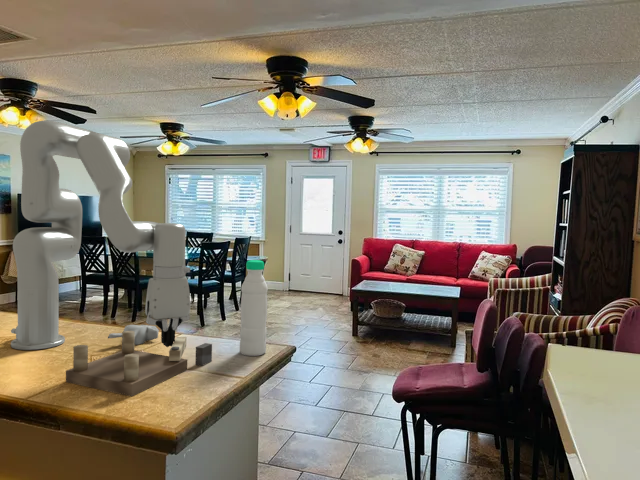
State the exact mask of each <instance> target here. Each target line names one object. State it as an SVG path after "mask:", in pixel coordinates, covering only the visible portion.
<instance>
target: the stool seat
mask: <svg viewBox="0 0 640 480" xmlns="http://www.w3.org/2000/svg"><path fill="white" fill-rule="evenodd" d="M123 331H124V330H123ZM123 331H122V332H121V333H122V337H121V351H118V352H115V353H113V354H112V353H111V354H110V355H108V356H104V357H102V358H101V357H100V358H99V359H95V360H92V361H89V346H88V345H87V344H79V345H74V346H73V355H72V356H73V357H72V358H73V365H72V366H73V367H72V368H69V369H67V370H65V383H70V384H73V385H79V386H82V387H85V388H86V387H87V388H91V389H96V390H101V391H105V392H110V393H114V394H119V395H123V396H129V397H134V396H135V395H138V394H140V393H142V392H144V391H146V390H147V389H150V388H152V387H155V386H156V385H159V384H160V383H163V382H164V381H168V380H169V379H171V378H173V377H176V376H178V375H180V374H182V373H184V372H186V371H188V359H186V358H182V357H181V359H180V361H169V355H164V354H159V353H153V352H152V353H151V352H146V351H142V350H135V344H134V342H135V332H134V331H124V332H123ZM212 354H213V343H207V342H204V343H203V344H199V345H197V346H195V365H196V366H205V365H207V364H208V363H210V362H212V361H213V355H212Z"/></svg>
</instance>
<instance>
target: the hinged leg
mask: <svg viewBox="0 0 640 480" xmlns="http://www.w3.org/2000/svg"><path fill="white" fill-rule="evenodd" d="M186 347H187V336H176V337H175V341H174V342H173V345H172V346H170V348H169V351H168V356H169V361H180V359H181V358H182V356H183V354H184V352H185V350H186Z"/></svg>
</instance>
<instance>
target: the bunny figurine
mask: <svg viewBox="0 0 640 480" xmlns="http://www.w3.org/2000/svg"><path fill="white" fill-rule="evenodd" d="M157 327H158V326H157V325H149V324H140V325H139V324H127V325H125V326H124V329H123V331H122V332H124V331H134V332H135V342H134V346H138V345H142V344H145V343H146V342H148V341H152V340H157V339H158V338H159V333H160V331H159V329H160V328H157ZM122 332H118V333H116V332H113V333H109V334H108V336H107V339H116V338H122Z"/></svg>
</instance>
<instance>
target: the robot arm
mask: <svg viewBox="0 0 640 480" xmlns="http://www.w3.org/2000/svg"><path fill="white" fill-rule="evenodd" d="M19 145H20V147H19V148H20V158H21V165H22V173H21V197H20V198H21V202H20V204H21V205H20V206H21V207H20V208H21V213H22V216H23V217H24V219H25V220H27V221H30V222H33V223H51V227H50V226H49V227H48V226H47V227H43V226H42V227H30V228H25V229H23V230H21V231H20V232H18V233H17V234H15V237H14V238H13V242H12V251H13V255H14V260H15V265H16V274H17V275H16V276H17V325H16V327H15V328H12V329H11V330H10V332H11V334H15V338H14V339H12V340H11V342H10V347H11V348H12V349H15V350H19V351H20V350H22V351H33V350H44V349H49V348H54V347H57V346H60V345H62V344H64V343H65V341H66V337H65V336H64V335H61V334H60V333H59V329H60V328H59V327H60V326H59V318H60V317H59V313H60V310H59V309H60V307H59V306H60V305H59V302H60V300H59V297H60V294H59V292H60V291H59V289H60V286H59V283H60V282H59V276H58V272H57V271H56V268H55V266H54V264H53V263H54V262H60V261H67V260H70V259H71V260H72V259H73V258H74V257H76V256H77V255H78V254H79V252H80V250H81V244H82V231H83V230H82V228H83V204H82V202H81V199H80V197H79V196H78V194H77V193H75V192H74V191H72V190H70V189H68V188H60V170H59V167H58V164H57V162H56V161H55V159H54V156H60V157H65V158H66V157H67V158H71V159H78V160H80V161H81V163H82V165H83V166H84V168H85V170H86V172H87V174H88V175H89V177H90V179H91V180H92V182H93V185H94V187H95V188H96V190H97V192H98V194H99V198H98V199H99V200H98V203H97V204H98V208H97V209H98V210H97V211H98V212H97V213H98V218H99V223H100V224H101V227H102V228H103V231H104V232H105V235H106V236H107V237H108V239H109V241H110V242H111V244H112V245H113V246H114V247H115V248H116V250H117V249H118V250H119V251H121V252H123V253H126V254H127V253H129V254H130V253H137V252H149V251H153V255H152V256H153V257H152V258H153V264H152V270H153V271H152V277H150V278H149V279H148V283H147V289H146V298H145V307H144V309H145V315H146V316H147V317H146V321H145V323H146V325H149V326H156V327H158V329H160V330H161V331H160V332H161V335H160V338H161V339H160V340H161V343H162V345H163V346H165V347H166V348H169V347H172V345H173V343H174V341H175V339H176V330H177V329H178V327H179V326H180V325H181V324H182V323H184V322H188V321H189V320H191V317H190V313H191V294H190V292H191V291H190V286H189V281H188V278H187V277H186V274H187V273H191V268H190V267H189V266H188V267H187V266H186V227H185V226H184V225H183V224H181V223H173V222H171V223H170V222H165V223H164V222H163V223H162V222H161V223H160V222H156V221H142V220H139V221H137V220H133V221H132V219H131V218H130V215H129V214H128V211H127V210H126V208H125V206H124V203H123V202H124V201H123V196H124V195H125V194H126V193H128V192H129V191H130V190H131V188H133V179H132V178H131V176H130V174H129V173H128V171H127V169H126V168H125V167H126V166H127V165H128V164H129V162H130V159H131V151H130V148H129V146H128V145H127V144H126V142H125V141H124V140H122V139H121V138H119V137H117V136H113V135H112V136H111V135H107V134H104V133H99V132H96V131H92V130H89V129H86V128H82V127H78V126H76V125H75V126H74V125H70V124H66V123H64V122H59V121H53V120H39V121H35V122H33V123H30V124H29V125H28V126H27V127H26V128H25V130H24V131H23V132H22V135H21V139H20V142H19ZM168 320H169V323H168Z"/></svg>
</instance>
